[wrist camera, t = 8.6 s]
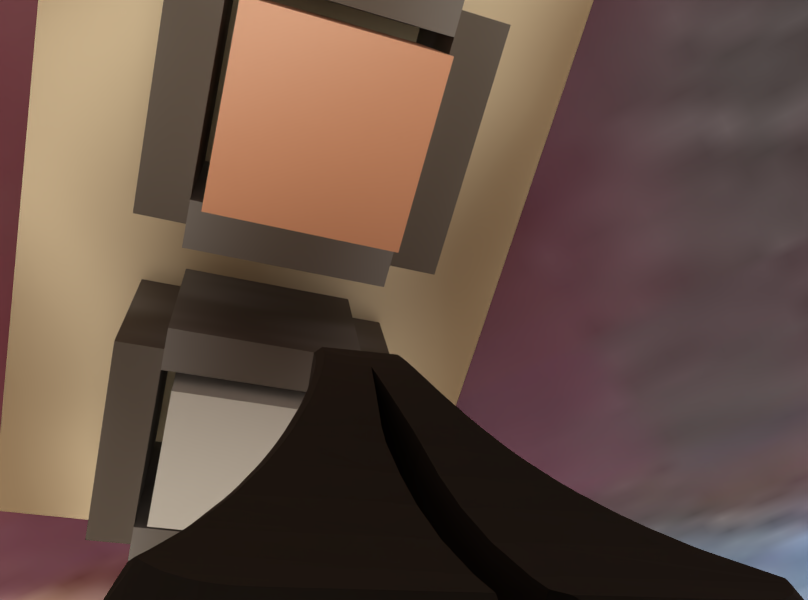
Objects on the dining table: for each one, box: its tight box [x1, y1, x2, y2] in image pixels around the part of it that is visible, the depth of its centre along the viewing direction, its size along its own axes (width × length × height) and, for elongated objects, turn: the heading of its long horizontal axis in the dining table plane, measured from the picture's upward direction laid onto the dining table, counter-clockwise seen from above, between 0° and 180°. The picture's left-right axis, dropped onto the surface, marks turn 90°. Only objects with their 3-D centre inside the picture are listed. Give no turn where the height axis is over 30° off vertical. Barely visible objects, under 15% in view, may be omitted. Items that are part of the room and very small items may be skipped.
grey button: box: [147, 372, 306, 530], centre depth 18 cm, size 4×4×3 cm
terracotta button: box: [201, 0, 454, 253], centre depth 14 cm, size 4×4×3 cm
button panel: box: [0, 0, 593, 561], centre depth 16 cm, size 12×26×5 cm, turn 165°
